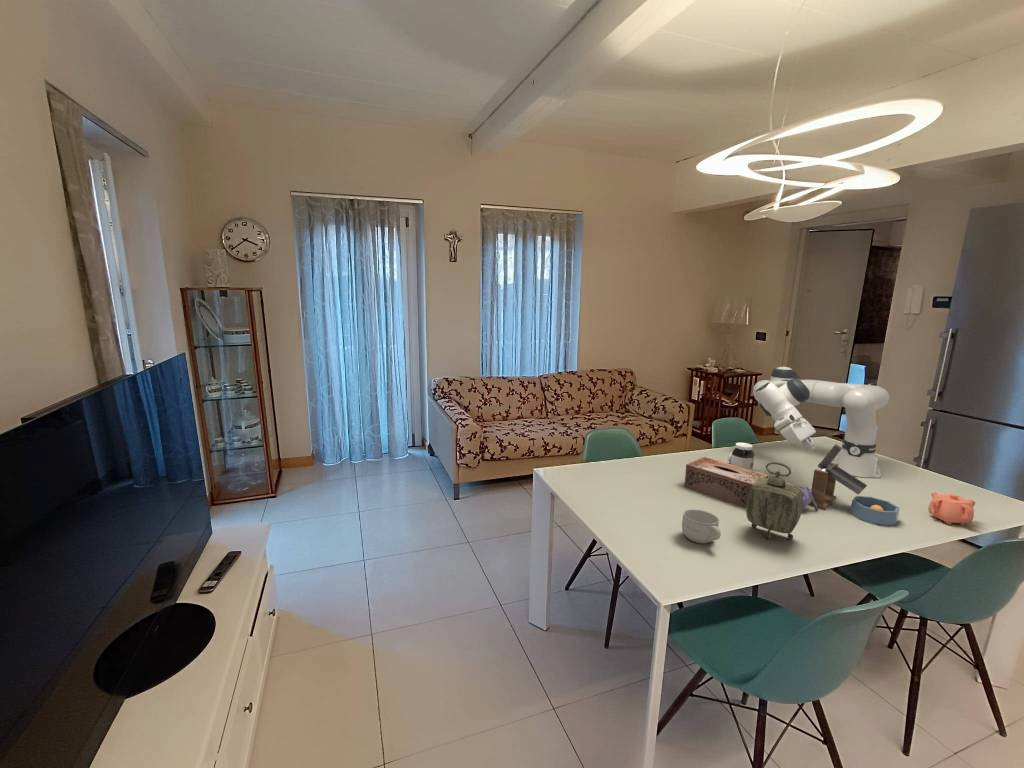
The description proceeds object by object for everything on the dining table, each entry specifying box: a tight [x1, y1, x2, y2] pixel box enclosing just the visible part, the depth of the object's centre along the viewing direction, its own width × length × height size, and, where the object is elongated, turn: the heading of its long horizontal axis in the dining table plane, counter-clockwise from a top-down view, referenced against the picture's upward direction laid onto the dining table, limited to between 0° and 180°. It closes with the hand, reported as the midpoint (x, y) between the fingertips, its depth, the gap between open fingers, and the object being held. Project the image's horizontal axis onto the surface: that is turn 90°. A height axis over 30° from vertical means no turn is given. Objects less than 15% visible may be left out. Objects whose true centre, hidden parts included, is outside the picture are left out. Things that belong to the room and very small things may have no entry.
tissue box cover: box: [683, 456, 770, 509], centre depth 182 cm, size 26×14×10 cm, turn 40°
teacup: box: [681, 508, 722, 544], centre depth 145 cm, size 14×11×8 cm
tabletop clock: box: [745, 461, 803, 540], centre depth 147 cm, size 14×9×25 cm, turn 48°
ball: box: [870, 505, 884, 511], centre depth 163 cm, size 4×4×4 cm
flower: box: [800, 486, 819, 512], centre depth 169 cm, size 9×9×10 cm
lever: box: [816, 443, 868, 496], centre depth 168 cm, size 10×15×11 cm, turn 42°
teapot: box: [927, 492, 976, 526], centre depth 161 cm, size 12×12×10 cm
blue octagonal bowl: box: [850, 495, 901, 527], centre depth 163 cm, size 13×13×5 cm
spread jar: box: [727, 442, 755, 470], centre depth 209 cm, size 12×11×12 cm
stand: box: [807, 462, 838, 511], centre depth 174 cm, size 15×6×14 cm, turn 132°
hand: (813, 449), depth 175 cm, fingers closed
